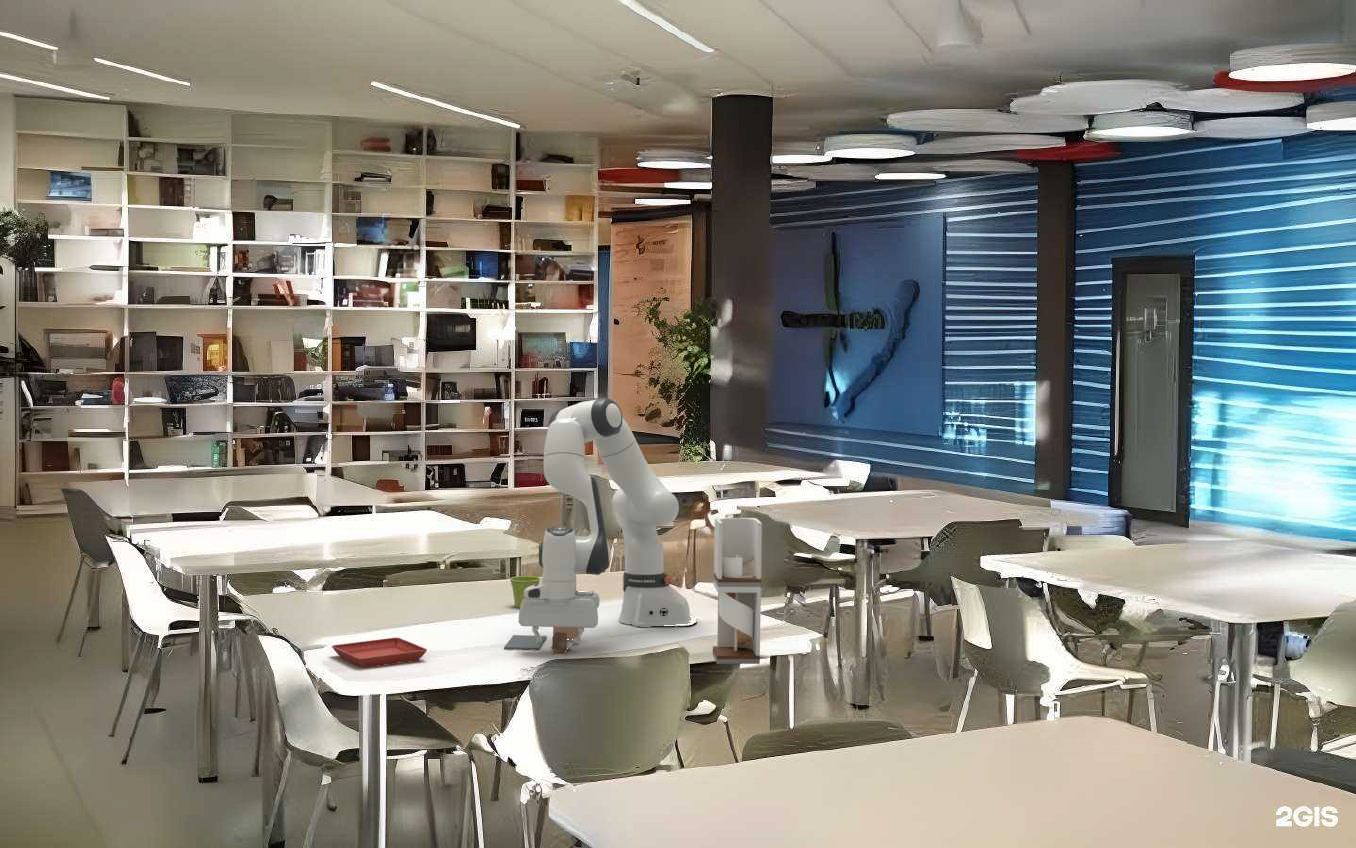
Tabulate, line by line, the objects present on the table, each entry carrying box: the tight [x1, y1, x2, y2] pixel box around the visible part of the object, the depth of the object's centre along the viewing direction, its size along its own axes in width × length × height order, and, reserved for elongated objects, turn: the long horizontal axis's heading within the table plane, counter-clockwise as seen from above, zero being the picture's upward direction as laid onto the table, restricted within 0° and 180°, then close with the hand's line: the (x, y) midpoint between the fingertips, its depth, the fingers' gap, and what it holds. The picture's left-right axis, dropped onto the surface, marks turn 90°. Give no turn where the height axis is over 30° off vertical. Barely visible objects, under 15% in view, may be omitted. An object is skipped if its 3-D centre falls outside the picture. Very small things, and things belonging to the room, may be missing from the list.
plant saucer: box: [331, 637, 428, 668], centre depth 341 cm, size 18×18×3 cm
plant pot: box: [509, 575, 542, 609], centre depth 416 cm, size 9×9×9 cm
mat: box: [503, 634, 548, 651], centre depth 361 cm, size 9×16×1 cm, turn 178°
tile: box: [552, 627, 580, 641], centre depth 367 cm, size 7×2×8 cm, turn 88°
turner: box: [550, 632, 574, 655], centre depth 355 cm, size 5×13×4 cm, turn 178°
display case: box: [712, 517, 763, 665], centre depth 345 cm, size 11×11×35 cm
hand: (558, 644), depth 351 cm, fingers open, 8 cm apart
